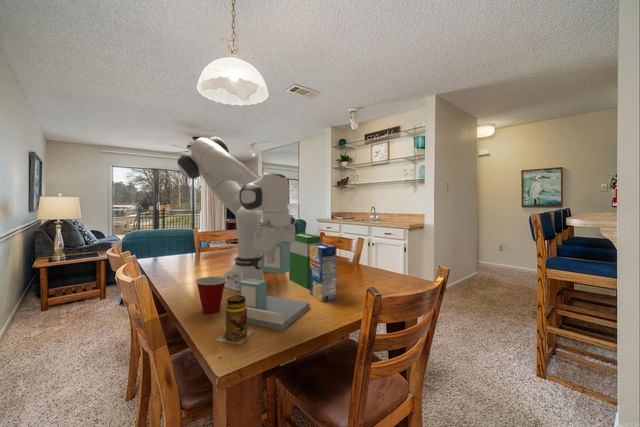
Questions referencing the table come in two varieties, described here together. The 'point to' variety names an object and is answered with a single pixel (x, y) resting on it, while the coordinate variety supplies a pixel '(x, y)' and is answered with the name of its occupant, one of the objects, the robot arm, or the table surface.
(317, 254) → the beverage box
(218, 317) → the table surface
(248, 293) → the carton
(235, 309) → the condiment
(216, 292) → the plastic cup
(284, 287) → the table surface
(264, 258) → the carton
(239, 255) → the robot arm
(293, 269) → the hardback book
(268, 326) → the shelf board
